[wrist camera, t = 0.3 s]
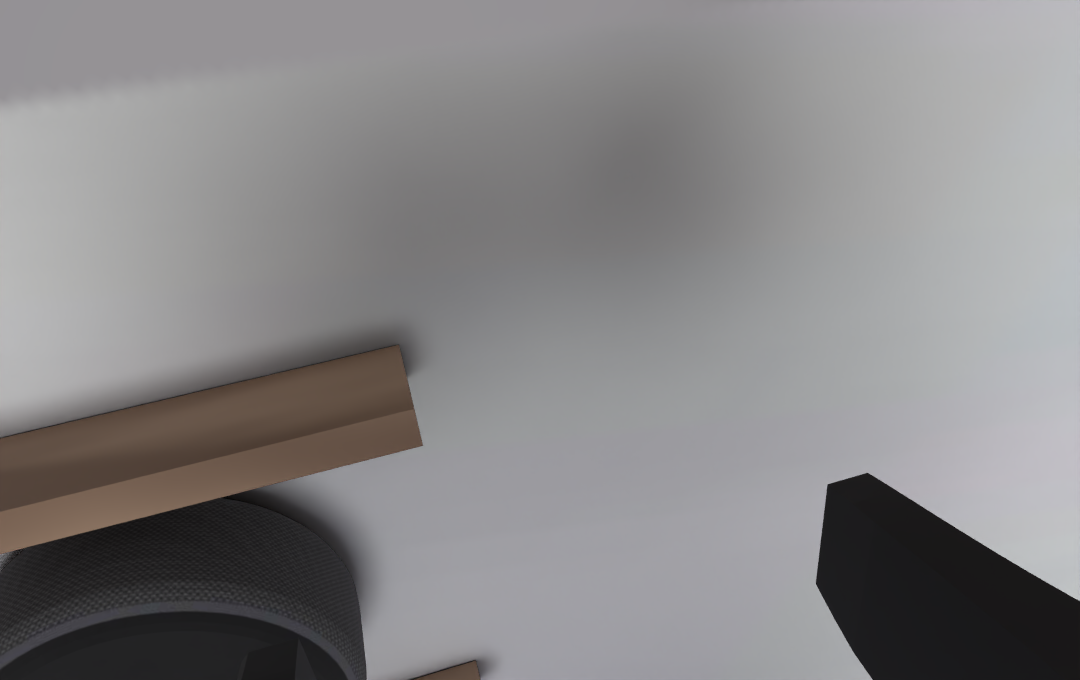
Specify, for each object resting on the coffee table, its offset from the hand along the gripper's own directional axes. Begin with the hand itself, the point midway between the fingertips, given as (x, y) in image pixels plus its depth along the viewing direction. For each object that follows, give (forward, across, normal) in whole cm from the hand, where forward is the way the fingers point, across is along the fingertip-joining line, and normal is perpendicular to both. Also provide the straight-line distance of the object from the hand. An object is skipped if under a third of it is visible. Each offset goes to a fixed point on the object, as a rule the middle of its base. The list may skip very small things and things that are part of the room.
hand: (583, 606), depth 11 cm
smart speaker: (+10, +9, +8) cm, 15 cm away
